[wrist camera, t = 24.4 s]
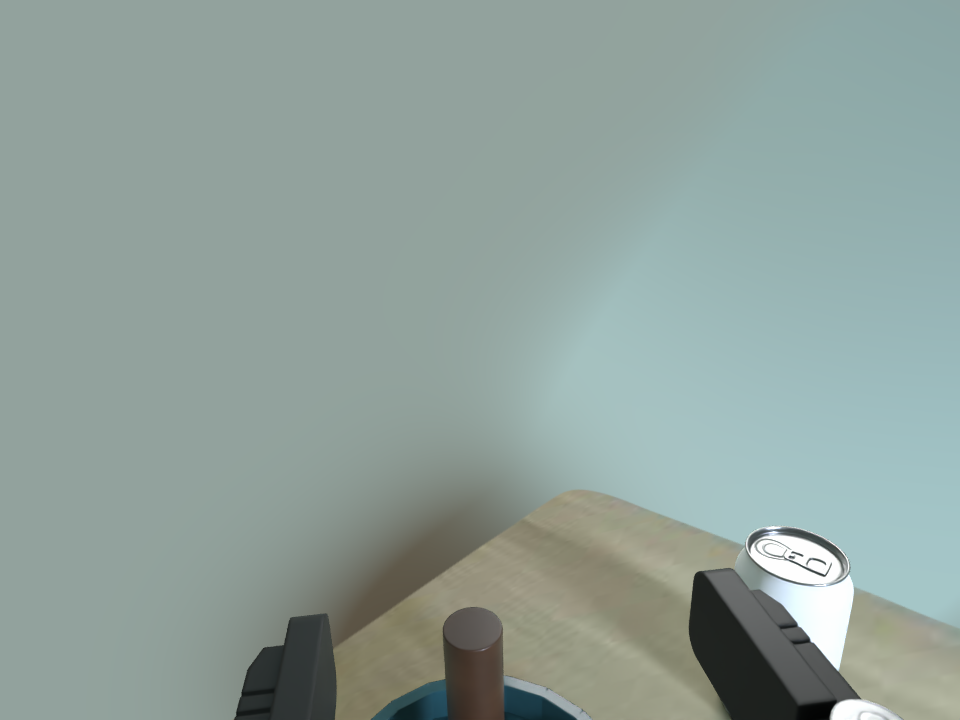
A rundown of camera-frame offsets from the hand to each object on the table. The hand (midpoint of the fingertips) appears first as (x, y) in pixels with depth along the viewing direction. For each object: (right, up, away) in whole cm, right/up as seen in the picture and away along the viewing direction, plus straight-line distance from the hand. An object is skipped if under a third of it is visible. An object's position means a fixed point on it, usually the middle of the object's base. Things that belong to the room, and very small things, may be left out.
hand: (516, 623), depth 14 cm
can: (+18, -17, +28) cm, 38 cm away
